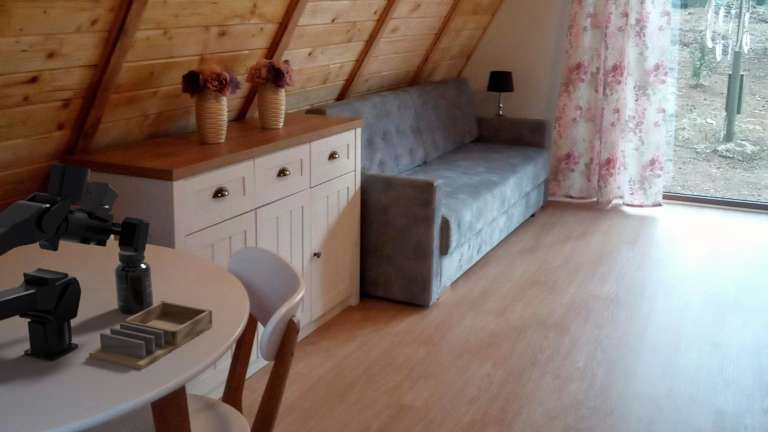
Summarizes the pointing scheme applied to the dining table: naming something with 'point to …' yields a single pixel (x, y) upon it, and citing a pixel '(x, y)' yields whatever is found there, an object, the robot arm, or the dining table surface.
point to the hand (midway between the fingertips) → (131, 234)
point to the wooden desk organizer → (152, 334)
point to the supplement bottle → (133, 283)
